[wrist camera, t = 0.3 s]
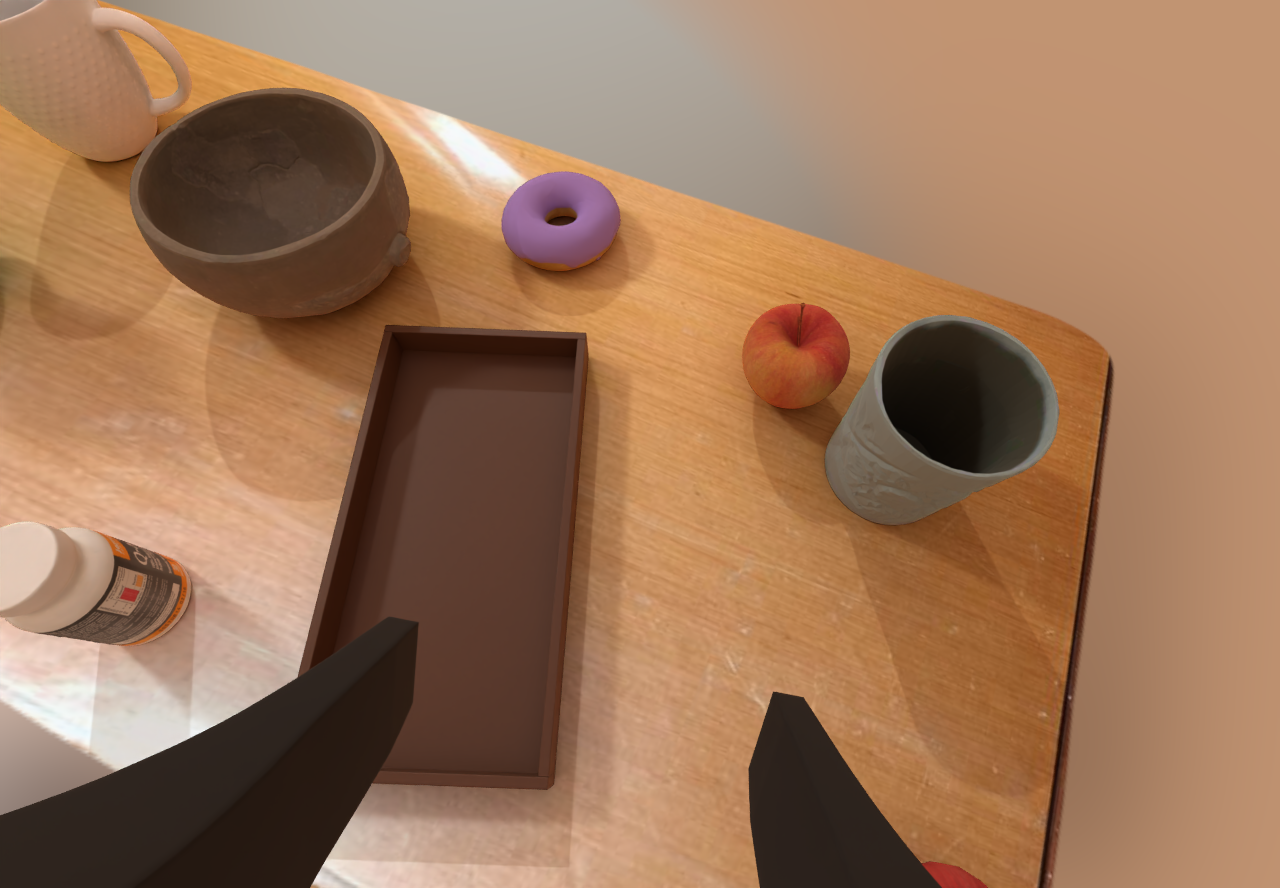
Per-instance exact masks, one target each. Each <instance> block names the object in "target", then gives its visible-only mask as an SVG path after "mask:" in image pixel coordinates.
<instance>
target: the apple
mask: <svg viewBox="0 0 1280 888" xmlns="http://www.w3.org/2000/svg"><path fill="white" fill-rule="evenodd" d="M849 359H850V348H849V342H848V339H847V336H846V334H845V332H844V330H843V328H842V327H841V325H840V324H839V322H838V321H837V320H836V319H835V318H834V317H833V316H832V315H831V314H830V313H829V312H827V311H826V310H824V309H823V308H821V307H818V306H814V305H807V304H804V303H801V304H787V305H781V306H778V307H775V308H773V309H771V310H769V311H767V312H766V313H764V314H763V315H761V316H760V317H759V318H758V319H757V320H756V321H755V323H754V324H753V325H752V327H751V328H750V330H749V332H748V334H747V336H746V339H745V342H744V346H743V353H742V360H743V368H744V372H745V375H746V378H747V380H748V382H749V384H750V386H751V387H752V389H753V390H754V391H755V393H756V394H757V395H758V396H759V397H760V398H762V399H763V400H764V401H766V402H767V403H769V404H771V405H773V406H777V407H780V408H787V409H796V408H803V407H807V406H810V405H813V404H815V403H817V402H819V401H821V400H823V399H824V398H826V397H827V396H828V395H830V394H831V393H832V392H833V391H834V390H835V389H836V388H837V386H838V385H839V384H840V383H841V381H842V379H843V377H844V375H845V373H846V371H847V368H848V364H849Z"/></svg>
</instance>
